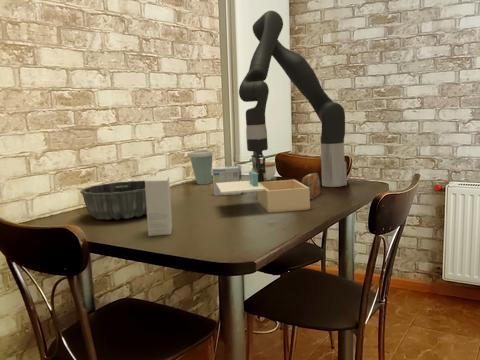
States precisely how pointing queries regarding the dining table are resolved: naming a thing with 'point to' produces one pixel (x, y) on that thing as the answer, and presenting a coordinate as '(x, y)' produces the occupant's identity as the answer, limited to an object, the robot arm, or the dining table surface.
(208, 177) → the disposable coffee cup
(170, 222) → the skincare box
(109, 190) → the bundt pan
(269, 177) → the lidded jar
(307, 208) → the box
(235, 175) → the light bulb box
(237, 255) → the dining table surface
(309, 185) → the brown flat slab
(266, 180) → the birch block
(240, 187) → the lid
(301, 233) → the dining table surface
